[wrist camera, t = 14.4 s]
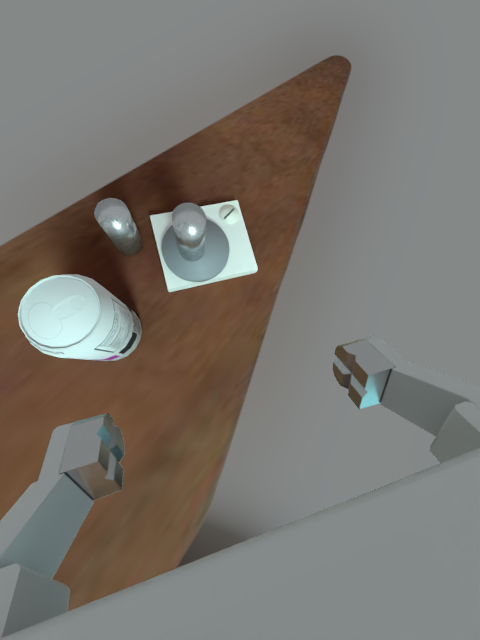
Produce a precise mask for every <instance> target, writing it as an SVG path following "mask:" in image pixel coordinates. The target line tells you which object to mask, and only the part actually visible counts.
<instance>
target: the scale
mask: <svg viewBox="0 0 480 640" xmlns="http://www.w3.org/2000/svg"><path fill="white" fill-rule="evenodd" d="M201 208H202V209H203V211H204V212H205V215H206V251H205V254H204V256H203V257H202V258H201V259H200V260H197V261H187V260H185V259H184V258H182V257H181V255H180V253H179V250H178V246H177V241H176V237H175V232H174V228H173V223H172V213H173V212H167V213H162V214H156V215H151V216H150V219H151V223H152V227H153V231H154V235H155V239H156V243H157V247H158V251H159V255H160V260H161V264H162V268H163V272H164V276H165V280H166V284H167V288H168V291H169V292H173V291H177V290H181V289H186V288H190V287H195V286H199V285H204V284H208V283H212V282H217V281H221V280H226V279H230V278H234V277H239V276H243V275H248V274H252V273H256V272H257V270H258V268H257V264H256V261H255V258H254V254H253V251H252V248H251V244H250V241H249V237H248V234H247V231H246V227H245V224H244V221H243V217H242V214H241V211H240V207H239V204H238V200H235V201H229V202H224V203H218V204H212V205H207V206H201Z"/></svg>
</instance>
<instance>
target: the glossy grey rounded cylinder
mask: <svg viewBox="0 0 480 640" xmlns="http://www.w3.org/2000/svg"><path fill="white" fill-rule="evenodd" d="M172 223H173V228H174V232H175V237H176V241H177V246H178V250H179V253H180V255H181V257H182V258H184V259H185V260H187V261H197V260H200V259H201V258H202V257H203V256H204V254H205V251H206V215H205V212H204V211H203V209H202V208H201V207H200V206H198V205H196V204H194V203H182V204H180V205H178V206H177V207H176V208H175V209H174V211H173V213H172Z"/></svg>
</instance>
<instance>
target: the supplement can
mask: <svg viewBox="0 0 480 640" xmlns="http://www.w3.org/2000/svg"><path fill="white" fill-rule="evenodd" d="M18 317H19V325H20V328H21V329H22V331H23V333H24V334H25V336H26V338H28V340H29V342H30V343H31V344H32V345H33V346H34V347H36V348H37V349H38V350H40V351H41V352H42V353H45V354H48V355H52V356H55V357H59V358H73V359H86V360H100V361H114V360H119V359H121V358H124V357H126V356H128V355H129V354H130V353H131V352H132V351H134V350H135V349H136V347H137V345H138V343H139V342H140V339H141V333H142V328H141V322H140V320H139V318H138V317H137V315H136V313H135V312H134V311H132V310H131V309H130V308H129V307H127V306H126V305H125V304H124V303H122V302H121V301H120V300H119V299H117V298H116V297H115V296H114V295H112V294H111V293H110V292H109V291H108V290H106V289H105V288H104V287H102V286H101V285H100V284H98V283H97V282H96V281H94V280H93V279H92V278H88V277H85V276H82V275H79V274H63V275H54V276H51V277H48V278H45V279H42V280H40V281H39V282H38V283H36V284H35V285H33V286H32V287H31V288H29V290H28V291H27V293H26V294H25V295H24V297H23V298H22V300H21V303H20V307H19V311H18Z"/></svg>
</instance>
